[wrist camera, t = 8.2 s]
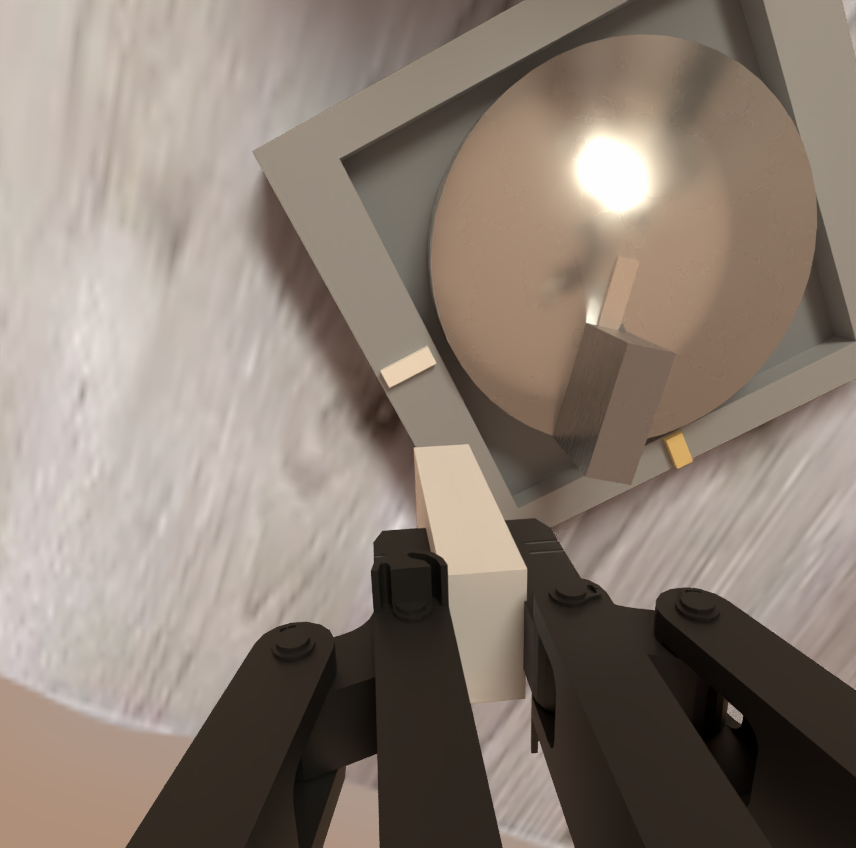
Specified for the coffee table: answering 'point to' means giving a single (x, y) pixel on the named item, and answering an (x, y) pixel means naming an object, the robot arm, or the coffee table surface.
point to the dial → (622, 243)
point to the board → (426, 165)
